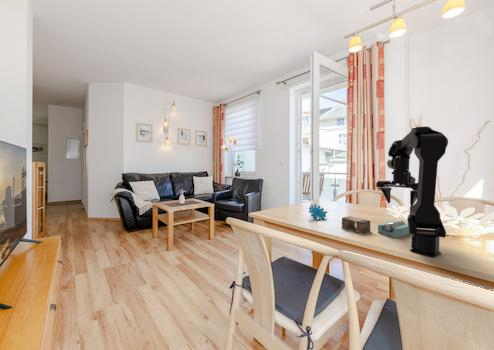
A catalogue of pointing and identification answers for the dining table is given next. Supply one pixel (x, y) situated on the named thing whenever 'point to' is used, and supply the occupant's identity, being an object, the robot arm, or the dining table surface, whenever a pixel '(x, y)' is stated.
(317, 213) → the gear
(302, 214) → the dining table surface
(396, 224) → the axle
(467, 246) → the dining table surface
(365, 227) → the bearing block
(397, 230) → the cradle
